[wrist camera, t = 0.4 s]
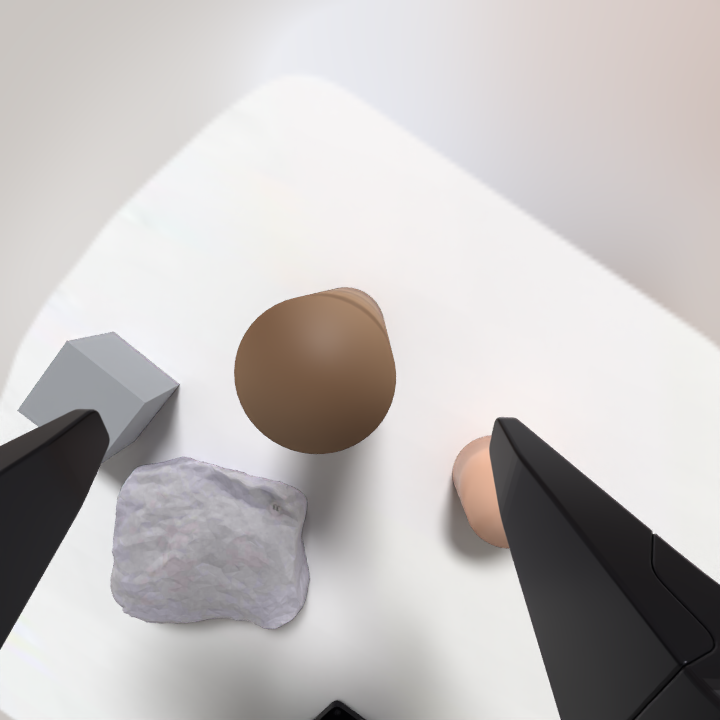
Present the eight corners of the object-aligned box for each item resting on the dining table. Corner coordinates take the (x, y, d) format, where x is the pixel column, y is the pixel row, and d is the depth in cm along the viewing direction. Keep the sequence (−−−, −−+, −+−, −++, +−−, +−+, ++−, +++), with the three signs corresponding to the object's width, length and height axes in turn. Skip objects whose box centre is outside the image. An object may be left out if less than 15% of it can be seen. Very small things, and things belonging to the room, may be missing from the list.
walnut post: (350, 379, 25) (325, 483, 12) (291, 330, 25) (202, 385, 12) (400, 322, 24) (430, 370, 11) (341, 270, 24) (303, 260, 11)
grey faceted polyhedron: (135, 440, 26) (93, 468, 22) (71, 390, 26) (17, 410, 22) (180, 383, 26) (145, 402, 22) (115, 331, 25) (67, 341, 21)
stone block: (146, 444, 28) (138, 589, 28) (103, 461, 24) (94, 635, 24) (317, 452, 29) (310, 596, 28) (309, 470, 24) (301, 643, 24)
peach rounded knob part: (492, 522, 27) (513, 564, 23) (435, 475, 26) (446, 510, 22) (549, 469, 26) (580, 503, 22) (491, 419, 25) (512, 445, 21)
